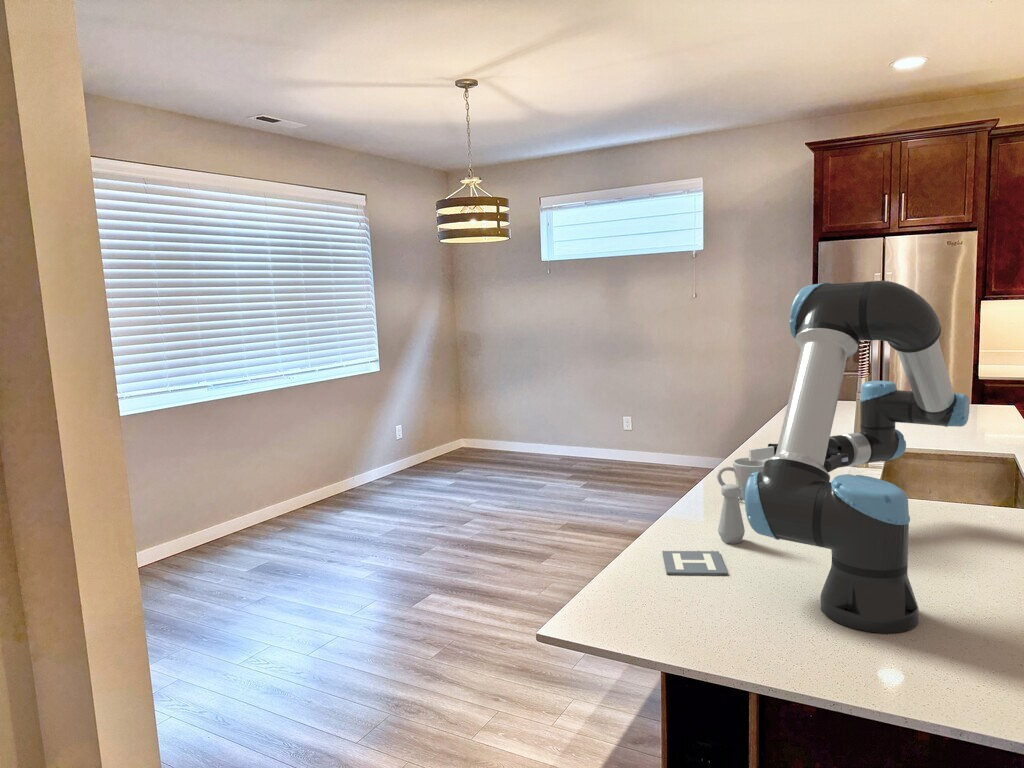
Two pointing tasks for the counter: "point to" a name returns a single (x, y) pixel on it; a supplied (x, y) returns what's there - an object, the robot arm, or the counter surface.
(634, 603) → the counter surface
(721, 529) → the salt shaker
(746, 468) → the mug
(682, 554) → the letter card
